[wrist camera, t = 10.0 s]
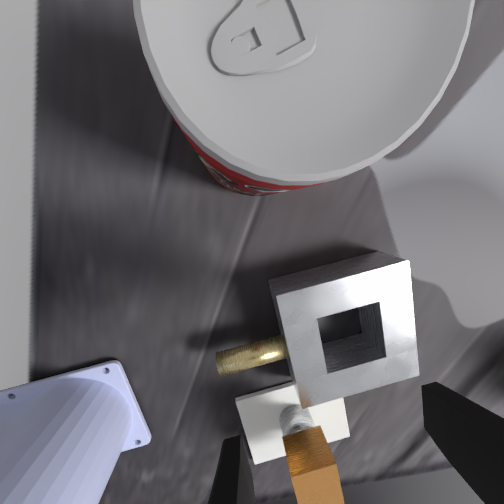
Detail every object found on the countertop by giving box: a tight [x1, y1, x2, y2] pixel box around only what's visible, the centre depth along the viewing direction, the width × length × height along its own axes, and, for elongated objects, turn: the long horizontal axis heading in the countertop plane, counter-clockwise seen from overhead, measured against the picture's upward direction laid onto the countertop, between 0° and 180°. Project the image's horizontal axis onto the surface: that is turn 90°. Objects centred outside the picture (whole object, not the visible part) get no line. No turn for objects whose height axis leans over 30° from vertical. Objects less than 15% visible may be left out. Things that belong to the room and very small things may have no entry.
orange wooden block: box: [279, 404, 344, 504], centre depth 17 cm, size 6×3×6 cm, turn 14°
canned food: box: [133, 0, 475, 196], centre depth 10 cm, size 8×8×11 cm
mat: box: [235, 382, 350, 464], centre depth 21 cm, size 9×7×1 cm
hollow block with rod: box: [216, 251, 419, 409], centre depth 17 cm, size 14×9×3 cm, turn 104°
